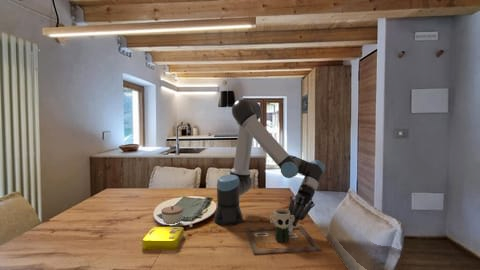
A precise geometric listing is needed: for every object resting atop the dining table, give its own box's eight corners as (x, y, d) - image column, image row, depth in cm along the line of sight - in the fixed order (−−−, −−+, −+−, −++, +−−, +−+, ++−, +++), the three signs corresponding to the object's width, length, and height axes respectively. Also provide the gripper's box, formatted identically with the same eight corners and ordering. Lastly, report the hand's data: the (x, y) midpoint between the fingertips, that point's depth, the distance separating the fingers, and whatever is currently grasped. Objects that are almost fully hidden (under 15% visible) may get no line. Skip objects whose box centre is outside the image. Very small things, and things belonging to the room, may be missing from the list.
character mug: (271, 244, 120) (271, 214, 119) (268, 237, 127) (268, 209, 126) (296, 243, 121) (296, 213, 120) (292, 236, 128) (292, 208, 127)
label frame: (253, 254, 110) (253, 253, 110) (245, 229, 135) (245, 228, 135) (321, 250, 113) (321, 249, 113) (301, 227, 138) (301, 225, 138)
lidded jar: (187, 223, 144) (187, 205, 143) (169, 229, 136) (168, 211, 135) (175, 218, 151) (175, 201, 150) (157, 224, 143) (157, 206, 143)
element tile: (153, 235, 130) (152, 225, 130) (184, 235, 130) (184, 225, 130) (140, 250, 116) (140, 239, 115) (176, 250, 115) (176, 239, 115)
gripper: (322, 194, 134) (304, 239, 123) (299, 190, 143) (280, 231, 132) (317, 185, 130) (297, 231, 119) (293, 181, 139) (273, 223, 128)
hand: (288, 231), depth 126 cm, fingers closed
